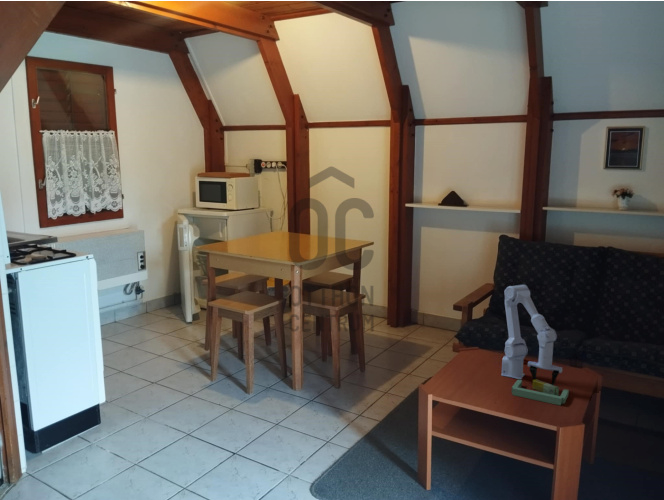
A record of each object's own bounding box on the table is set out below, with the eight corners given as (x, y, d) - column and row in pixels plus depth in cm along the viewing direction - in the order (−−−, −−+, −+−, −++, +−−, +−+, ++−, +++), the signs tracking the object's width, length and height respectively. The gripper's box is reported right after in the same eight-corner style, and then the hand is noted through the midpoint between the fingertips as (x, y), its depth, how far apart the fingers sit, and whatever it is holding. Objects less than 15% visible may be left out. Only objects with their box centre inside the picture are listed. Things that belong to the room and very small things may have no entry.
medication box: (559, 395, 242) (559, 387, 242) (555, 397, 241) (555, 388, 240) (535, 386, 252) (535, 378, 251) (531, 388, 251) (532, 380, 250)
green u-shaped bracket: (510, 394, 243) (510, 387, 243) (517, 384, 255) (517, 378, 254) (563, 406, 232) (563, 399, 232) (568, 395, 243) (568, 388, 243)
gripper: (564, 356, 248) (562, 385, 250) (531, 350, 256) (529, 378, 258) (561, 360, 242) (559, 390, 244) (527, 354, 250) (525, 382, 252)
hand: (543, 384), depth 251 cm, fingers open, 7 cm apart
